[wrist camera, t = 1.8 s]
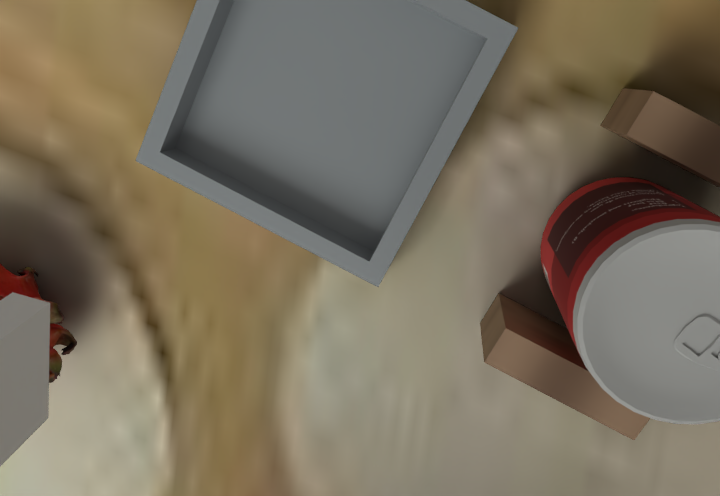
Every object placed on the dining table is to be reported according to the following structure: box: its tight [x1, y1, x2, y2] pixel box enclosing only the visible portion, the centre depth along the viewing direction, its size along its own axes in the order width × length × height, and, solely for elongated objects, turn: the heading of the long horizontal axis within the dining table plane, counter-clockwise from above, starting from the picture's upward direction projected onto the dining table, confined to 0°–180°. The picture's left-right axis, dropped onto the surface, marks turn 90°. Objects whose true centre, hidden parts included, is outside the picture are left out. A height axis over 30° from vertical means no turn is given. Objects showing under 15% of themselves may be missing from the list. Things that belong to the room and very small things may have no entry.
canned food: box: [541, 177, 720, 424], centre depth 28 cm, size 8×8×11 cm
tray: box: [136, 0, 518, 287], centre depth 32 cm, size 14×14×2 cm
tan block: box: [480, 88, 720, 440], centre depth 31 cm, size 8×14×5 cm, turn 154°
